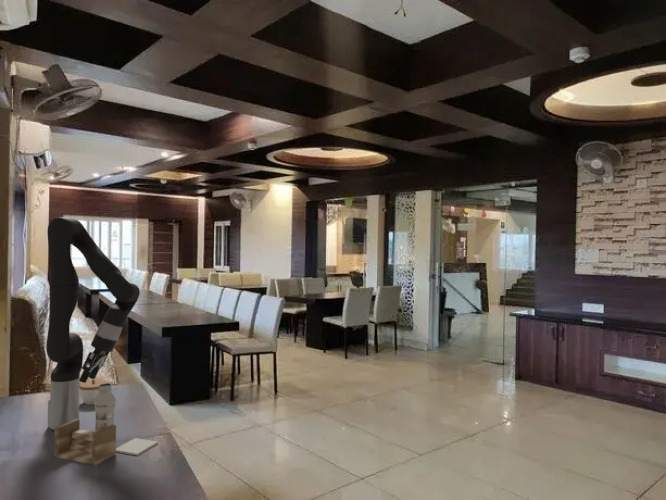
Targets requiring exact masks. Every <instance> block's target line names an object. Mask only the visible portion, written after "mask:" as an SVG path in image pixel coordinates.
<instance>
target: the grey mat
mask: <svg viewBox="0 0 666 500" xmlns="http://www.w3.org/2000/svg"><path fill="white" fill-rule="evenodd" d="M158 443H159V441H156V440H155V441H154V440H148V439H144V438H137V437H134V438H133V439H131V440H129V441H127V442H126V443H123V444H122V445H120V446H118V447H116V453H120V454H127V455H132V456H139V455H141V454H143V453H144V452H146V451H148V450H149V449H151V448H153V447H155V446H156V445H157V444H158Z"/></svg>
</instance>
